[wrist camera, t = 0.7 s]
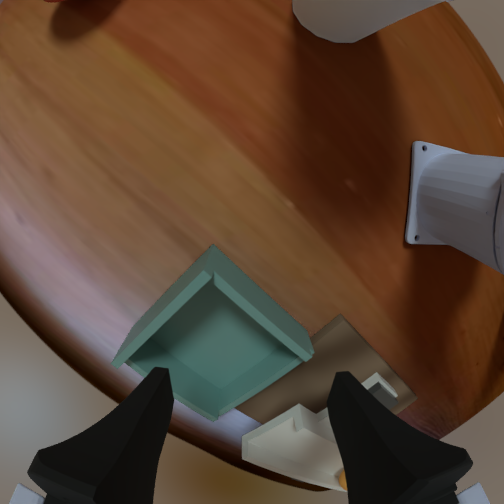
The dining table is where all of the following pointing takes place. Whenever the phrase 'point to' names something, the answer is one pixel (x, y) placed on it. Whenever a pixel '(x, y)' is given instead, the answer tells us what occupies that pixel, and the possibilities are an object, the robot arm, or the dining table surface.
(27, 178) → the dining table surface
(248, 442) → the tray
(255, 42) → the dining table surface
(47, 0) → the pot
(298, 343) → the teal open box
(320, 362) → the stand
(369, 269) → the dining table surface
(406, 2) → the foam cup
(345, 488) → the ball
